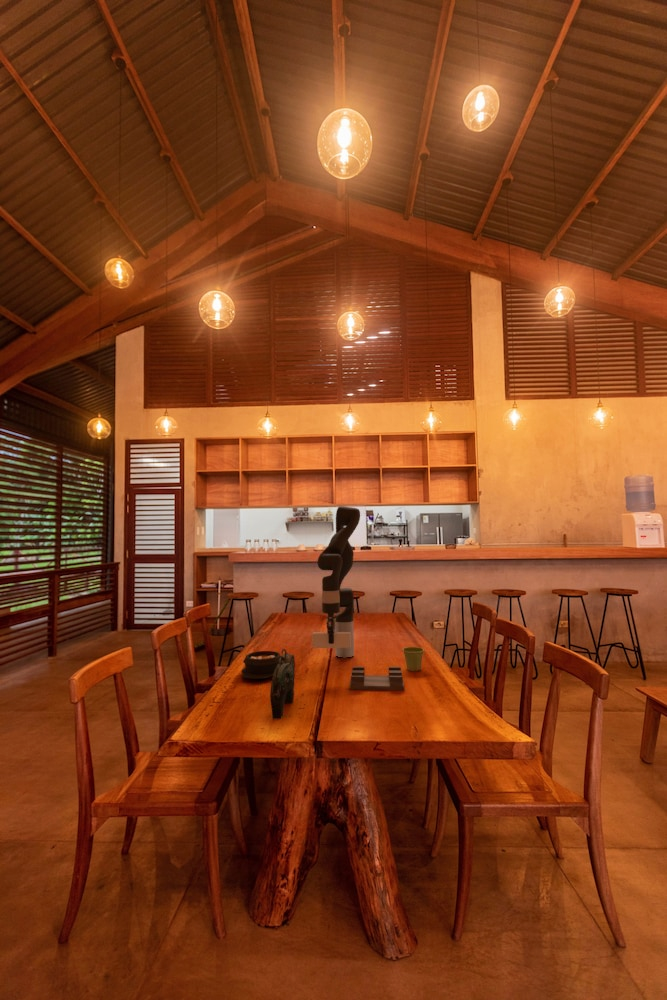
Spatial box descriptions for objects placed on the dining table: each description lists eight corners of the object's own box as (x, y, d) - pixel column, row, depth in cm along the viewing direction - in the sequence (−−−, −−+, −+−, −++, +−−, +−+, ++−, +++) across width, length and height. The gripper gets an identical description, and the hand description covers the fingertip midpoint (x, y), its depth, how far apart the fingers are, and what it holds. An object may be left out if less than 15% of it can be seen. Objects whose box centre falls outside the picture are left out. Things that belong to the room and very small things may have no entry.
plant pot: (425, 672, 204) (424, 652, 205) (403, 672, 206) (402, 651, 206) (424, 666, 213) (423, 647, 214) (403, 666, 215) (402, 646, 215)
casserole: (275, 684, 193) (274, 663, 194) (231, 682, 196) (231, 662, 197) (291, 667, 218) (290, 648, 218) (252, 665, 221) (252, 647, 221)
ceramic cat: (282, 698, 176) (282, 643, 177) (299, 699, 175) (299, 643, 176) (266, 719, 157) (266, 657, 158) (285, 720, 156) (285, 658, 157)
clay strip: (313, 646, 201) (313, 632, 202) (350, 646, 200) (350, 632, 200) (312, 647, 199) (312, 633, 199) (350, 648, 197) (350, 633, 198)
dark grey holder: (351, 678, 198) (351, 666, 198) (402, 679, 196) (401, 666, 196) (349, 689, 184) (349, 676, 184) (404, 690, 182) (404, 676, 183)
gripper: (338, 603, 193) (339, 646, 192) (340, 598, 207) (341, 638, 206) (320, 603, 194) (320, 646, 193) (323, 598, 208) (324, 638, 207)
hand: (331, 642), depth 200 cm, fingers closed on clay strip, 2 cm apart
